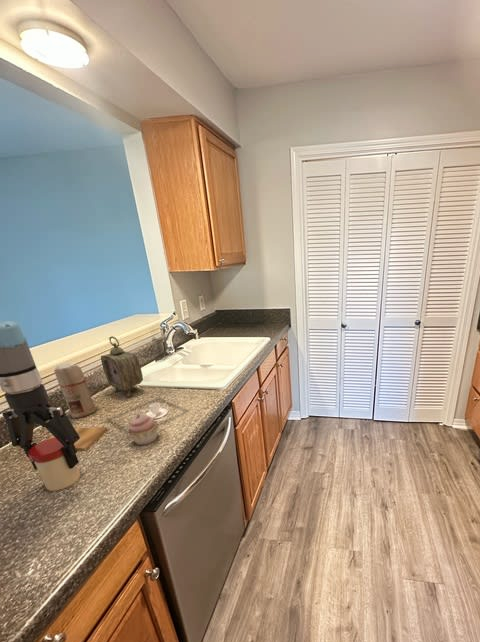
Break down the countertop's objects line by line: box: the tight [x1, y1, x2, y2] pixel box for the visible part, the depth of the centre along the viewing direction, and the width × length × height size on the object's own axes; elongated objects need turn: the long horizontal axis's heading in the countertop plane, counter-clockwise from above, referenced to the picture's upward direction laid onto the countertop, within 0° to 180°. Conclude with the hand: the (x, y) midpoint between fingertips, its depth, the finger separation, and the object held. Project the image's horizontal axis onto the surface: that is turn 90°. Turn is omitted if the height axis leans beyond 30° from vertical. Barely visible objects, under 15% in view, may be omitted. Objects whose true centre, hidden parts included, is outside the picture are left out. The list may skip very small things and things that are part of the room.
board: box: [48, 427, 108, 451], centre depth 106 cm, size 16×12×1 cm
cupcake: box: [126, 412, 159, 446], centre depth 102 cm, size 9×9×10 cm
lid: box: [28, 438, 67, 462], centre depth 83 cm, size 9×9×2 cm
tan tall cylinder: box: [53, 363, 97, 419], centre depth 120 cm, size 8×8×20 cm
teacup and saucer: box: [145, 402, 169, 420], centre depth 119 cm, size 9×8×4 cm
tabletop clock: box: [100, 335, 144, 398], centre depth 136 cm, size 14×9×25 cm, turn 54°
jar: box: [34, 454, 81, 492], centre depth 85 cm, size 8×8×11 cm
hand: (57, 465), depth 85 cm, fingers closed on lid, 8 cm apart
